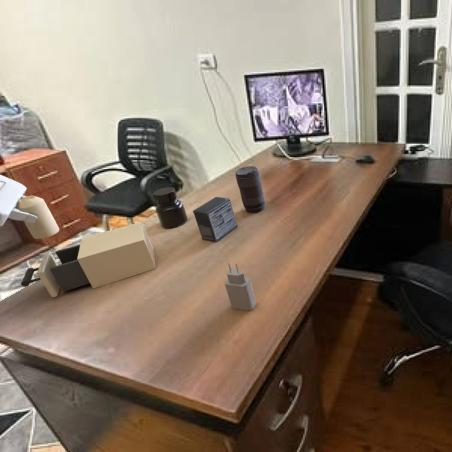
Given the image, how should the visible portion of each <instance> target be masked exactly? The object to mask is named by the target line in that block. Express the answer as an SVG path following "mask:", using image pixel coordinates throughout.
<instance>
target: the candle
mask: <svg viewBox="0 0 452 452" xmlns="http://www.w3.org/2000/svg"><path fill="white" fill-rule="evenodd" d="M25 196H26V197H24V198H23V199H19V201H18V203H17V205H16V207H15V209H18V210H20V211H21V212H26V213H30V212H31V213H33V214H36V215H38V217H37V219H36V221H35V223H30V222H27V221H23V223H24V225H25V226H26V228H27V230H28V231H29V233H30V235H31V236H32V238H33V239H35V240H43V239H46V238H49V237H52V236H54V235H56V234H58V233H59V231H60V228H59V225H58V224H57V222H56V220H55V218H54V216H53V214H52V212H51V211H50V209H49V207H48V205H47V203H46V201H45V199H44V198H42V197H39V196H36V195H33V194H31V195H25Z"/></svg>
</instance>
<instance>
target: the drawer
mask: <svg viewBox="0 0 452 452" xmlns="http://www.w3.org/2000/svg"><path fill="white" fill-rule="evenodd" d="M80 244H81V243H80ZM80 244H76V245H72V246H69V247H66V248H62V249H58V250H55V251H54V253H55V254H56V257H57V258H58V260H59V261H60V263H61V264H58V262H57V261H56V258H55V257H54V255H53V254H52V252H51V251H50V250H48V251H45V252H44V253H43V256H42V259H41V261H40V263H39V266H38V267H35V268H33V267H28V268H27V269H26V271H25V273H24V276H23V278H22V279H21V282H20V285H21V287H23V288H27V287H29V286H30V284H32V283H35V282H38V281H41V283H42V284H43V286H44V287H45V289H46V291H47V292H48V294H49V295H50V297H51V298H56V297H58V295H59V292H60V289H61V291H62V292H67V291H70V290H73V289H76V288H80V287H82V286H86V285H88V284H90V282H89V280H88V278H87V276H86V274H85V273H84V271H83V269H82V267H81V265H80V263H79V262H78V260H77V258H78V253H79V249H80ZM35 272H36V275H37V276H38V277H36V278H33V276H34V274H35Z"/></svg>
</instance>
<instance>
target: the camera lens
mask: <svg viewBox="0 0 452 452" xmlns="http://www.w3.org/2000/svg"><path fill="white" fill-rule="evenodd" d="M234 173H235V180H236V184H237V187H238V189H239V194H240V198H241V202H242V205H243V208H245V211H246V213H251V214H254V213H255V214H256V213H258V212H259V213H260V212H261V211H263V210H265V204H266V201H265V194H264V190H263V186H262V178H261V174H260V170H259V168H258V167H257V166H253V165H251V166H250V165H247V166H243V167H241V168H237V170H235V171H234Z"/></svg>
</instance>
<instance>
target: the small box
mask: <svg viewBox="0 0 452 452" xmlns="http://www.w3.org/2000/svg"><path fill="white" fill-rule="evenodd" d="M192 213H193V216H194V218H195V221H196V224H197V227H198V230H199V233H200V236H201V239H202V240H204V241H208V242H212V243H217V242H219V241H220V240H221V239H223V238H225V237H226V236H227V235H228V234H229V233H231V232H232V231H234V230H235V229H236V228H237V227H238V223H237V220H236V217H235V213H234V210H233V205H232V202H231V198H229V197H220V196H215V197H213V198H212V199H210V200H208V201H207V202H205V203H204V204H202V205H200V206H198V207H196V208H195V209H194V210H192Z"/></svg>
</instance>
